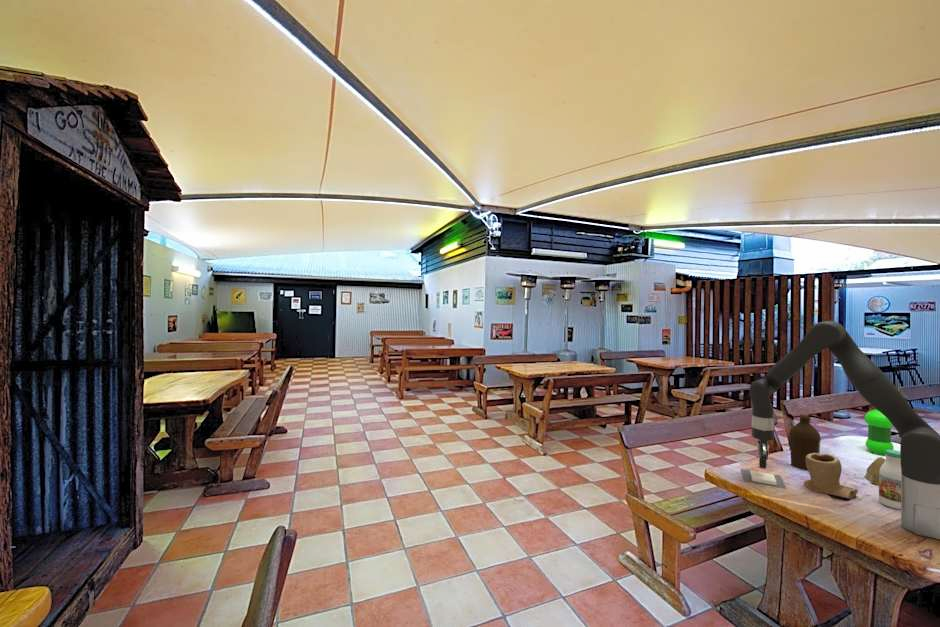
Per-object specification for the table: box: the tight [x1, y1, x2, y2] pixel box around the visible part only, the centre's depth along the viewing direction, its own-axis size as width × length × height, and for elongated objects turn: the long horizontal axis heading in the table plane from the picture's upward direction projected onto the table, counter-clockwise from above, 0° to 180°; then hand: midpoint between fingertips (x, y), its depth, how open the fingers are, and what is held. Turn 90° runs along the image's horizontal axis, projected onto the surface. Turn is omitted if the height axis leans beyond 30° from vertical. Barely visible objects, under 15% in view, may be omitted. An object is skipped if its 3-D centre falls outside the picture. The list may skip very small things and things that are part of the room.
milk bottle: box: [878, 449, 901, 510], centre depth 141 cm, size 8×8×20 cm
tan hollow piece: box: [803, 453, 859, 500], centre depth 150 cm, size 15×12×15 cm
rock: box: [864, 456, 886, 486], centre depth 161 cm, size 11×9×10 cm
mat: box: [740, 468, 787, 490], centre depth 161 cm, size 14×14×1 cm
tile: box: [750, 470, 777, 486], centre depth 160 cm, size 2×8×8 cm
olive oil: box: [788, 413, 822, 472], centre depth 172 cm, size 11×11×25 cm
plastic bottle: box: [864, 407, 895, 456], centre depth 190 cm, size 10×10×25 cm
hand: (762, 467), depth 161 cm, fingers closed
